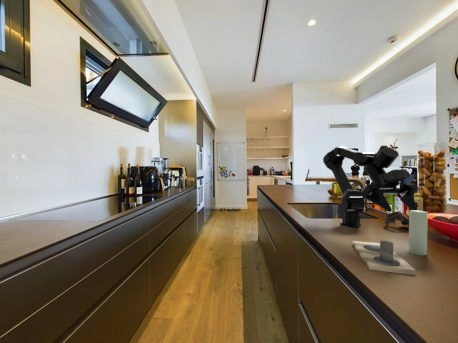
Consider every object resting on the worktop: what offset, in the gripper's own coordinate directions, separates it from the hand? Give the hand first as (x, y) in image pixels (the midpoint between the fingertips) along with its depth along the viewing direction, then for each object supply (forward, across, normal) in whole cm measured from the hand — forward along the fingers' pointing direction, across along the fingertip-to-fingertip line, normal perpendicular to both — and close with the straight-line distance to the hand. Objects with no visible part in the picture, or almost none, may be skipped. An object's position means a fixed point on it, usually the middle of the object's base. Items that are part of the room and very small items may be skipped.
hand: (403, 210), depth 77 cm
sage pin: (+12, 0, +5) cm, 13 cm away
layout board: (+14, -15, +3) cm, 21 cm away
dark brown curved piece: (-7, +19, +24) cm, 32 cm away
